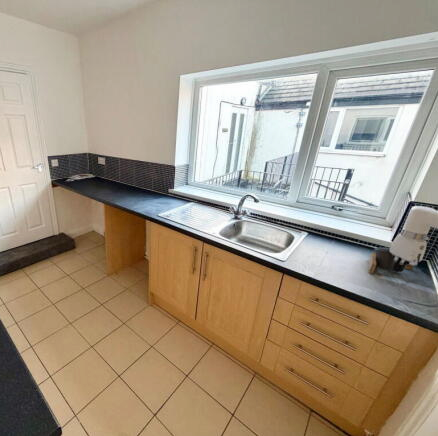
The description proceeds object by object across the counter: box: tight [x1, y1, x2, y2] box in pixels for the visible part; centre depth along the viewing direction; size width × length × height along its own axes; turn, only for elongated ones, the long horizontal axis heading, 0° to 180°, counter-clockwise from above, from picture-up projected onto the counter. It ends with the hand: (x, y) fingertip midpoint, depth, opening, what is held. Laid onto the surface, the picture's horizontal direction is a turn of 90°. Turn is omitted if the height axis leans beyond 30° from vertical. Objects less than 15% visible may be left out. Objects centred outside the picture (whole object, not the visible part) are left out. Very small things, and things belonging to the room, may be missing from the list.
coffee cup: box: [373, 246, 394, 271], centre depth 117 cm, size 8×8×10 cm
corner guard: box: [367, 252, 415, 275], centre depth 115 cm, size 16×14×5 cm
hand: (396, 270), depth 111 cm, fingers closed
